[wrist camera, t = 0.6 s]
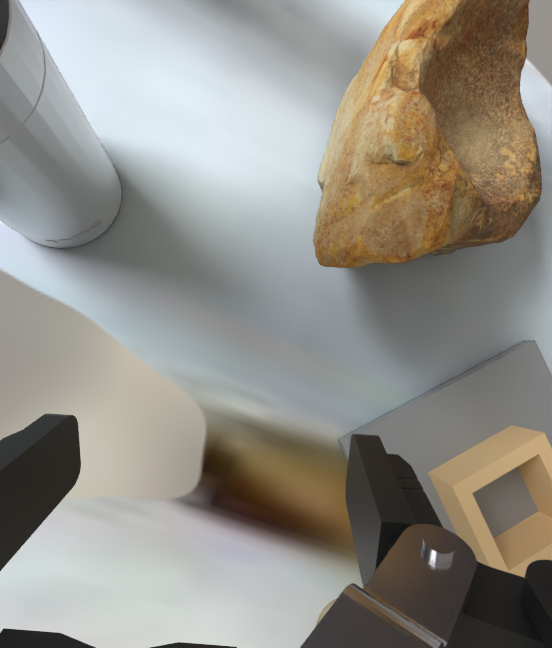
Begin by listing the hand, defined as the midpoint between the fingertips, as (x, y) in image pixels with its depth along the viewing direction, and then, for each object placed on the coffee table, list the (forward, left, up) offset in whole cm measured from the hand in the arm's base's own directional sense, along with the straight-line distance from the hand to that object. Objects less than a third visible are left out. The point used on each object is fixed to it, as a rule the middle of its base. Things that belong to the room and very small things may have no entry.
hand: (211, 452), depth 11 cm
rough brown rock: (-9, +22, -21) cm, 32 cm away
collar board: (+18, +17, -21) cm, 33 cm away
